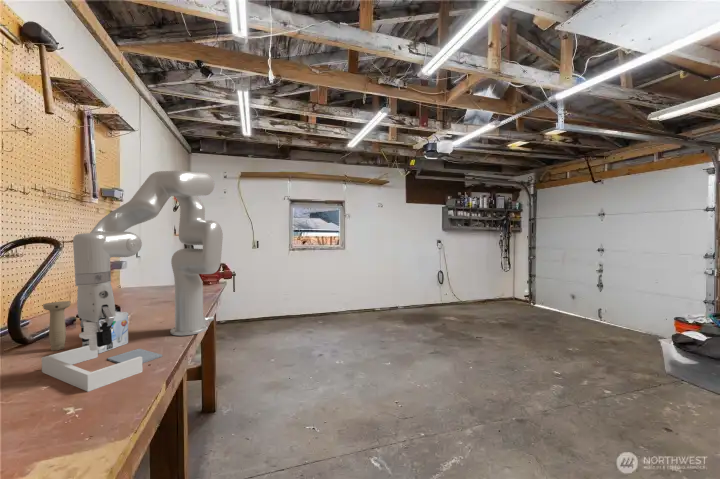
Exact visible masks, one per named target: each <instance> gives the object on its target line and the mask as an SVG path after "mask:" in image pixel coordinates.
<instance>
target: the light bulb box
mask: <svg viewBox="0 0 720 479" xmlns="http://www.w3.org/2000/svg"><path fill="white" fill-rule="evenodd" d="M115 313H116V316H115V318H114V321H113V325H112V329H113V332H112V333H111V334H112V343H111V344H108V345H105V346H104V348H102V349H100V350H98V355H99V354H102V353H105V352H107V351H110V350H114V349H117V348H119V347H122V346H125V345H127V344H129V312H127V311H116V310H115ZM81 328H83V327H81ZM81 342H82V341H81ZM88 345H89V341H87V342H82V347H84V346H88Z"/></svg>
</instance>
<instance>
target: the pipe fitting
mask: <svg viewBox="0 0 720 479" xmlns="http://www.w3.org/2000/svg"><path fill="white" fill-rule="evenodd" d="M99 319H100V320H101V319H105V317H104V318H99ZM103 323H105V322H102V323H101V326H102V325H103ZM83 324H84V325H83V326H84V327H83V328H84V332H82V333H81V332H80V333H78V335H79V336H78V337H79V338H80V339H82V338H83V339H89V348H90V350H91V351H94V350H100V349H102V348H104V346H101V347H98V346H97V332H98V329H97V325H96V322H91V321H87V320H85V321H84V322H83ZM112 332H113V329H111V333H112Z"/></svg>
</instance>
